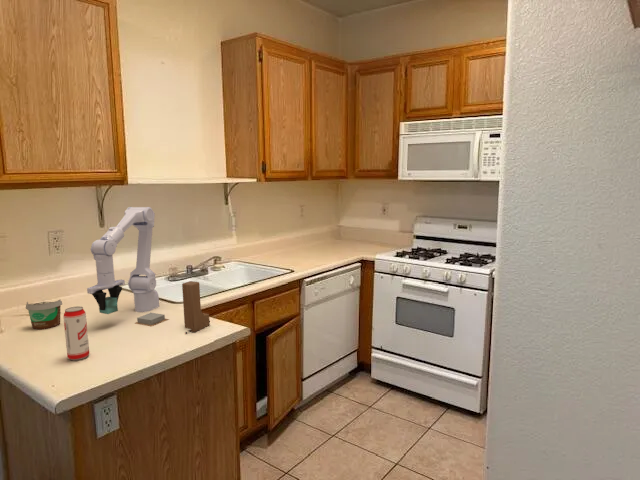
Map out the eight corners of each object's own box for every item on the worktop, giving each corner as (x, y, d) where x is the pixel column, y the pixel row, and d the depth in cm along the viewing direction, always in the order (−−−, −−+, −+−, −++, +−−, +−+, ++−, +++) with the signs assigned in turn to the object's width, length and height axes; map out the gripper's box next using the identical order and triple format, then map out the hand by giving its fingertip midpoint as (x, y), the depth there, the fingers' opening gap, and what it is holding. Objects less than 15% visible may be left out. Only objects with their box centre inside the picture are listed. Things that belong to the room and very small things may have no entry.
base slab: (152, 321, 181) (152, 316, 180) (169, 324, 177) (169, 319, 176) (134, 328, 173) (134, 323, 172) (151, 331, 169) (151, 326, 168)
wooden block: (200, 323, 175) (198, 278, 172) (210, 325, 173) (207, 279, 170) (184, 331, 167) (181, 283, 164) (194, 332, 165) (191, 284, 162)
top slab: (151, 317, 179) (150, 312, 179) (164, 319, 176) (164, 314, 176) (137, 322, 173) (137, 317, 172) (151, 325, 170) (151, 320, 169)
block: (109, 309, 171) (108, 296, 170) (117, 310, 169) (116, 297, 168) (99, 312, 167) (98, 299, 167) (107, 314, 165) (106, 300, 165)
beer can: (93, 353, 147) (88, 305, 145) (84, 361, 141) (79, 311, 139) (73, 353, 147) (69, 306, 145) (63, 361, 141) (58, 312, 138)
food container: (22, 332, 168) (19, 306, 166) (28, 327, 174) (25, 301, 172) (60, 328, 171) (57, 303, 169) (64, 323, 177) (61, 298, 175)
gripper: (114, 267, 174) (117, 301, 176) (80, 275, 161) (83, 312, 163) (127, 268, 171) (130, 303, 173) (93, 277, 158) (96, 314, 160)
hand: (108, 308), depth 168 cm, fingers closed on block, 4 cm apart
